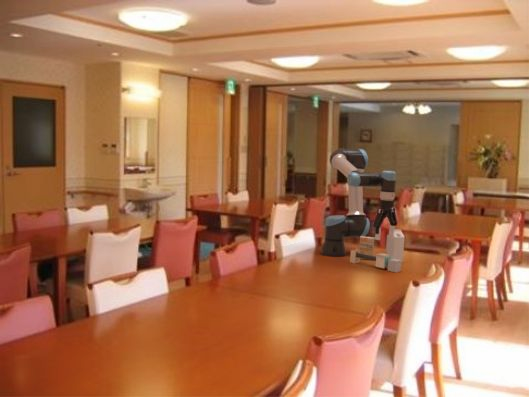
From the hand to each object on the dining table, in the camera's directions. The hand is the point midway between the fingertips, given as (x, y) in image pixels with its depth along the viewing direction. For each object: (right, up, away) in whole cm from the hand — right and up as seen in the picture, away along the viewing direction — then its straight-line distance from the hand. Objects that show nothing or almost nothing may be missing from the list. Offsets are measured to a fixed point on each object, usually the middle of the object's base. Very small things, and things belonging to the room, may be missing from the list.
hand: (384, 238), depth 307 cm
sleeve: (-1, -15, +1) cm, 15 cm away
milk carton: (+10, -15, +22) cm, 28 cm away
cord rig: (-5, -16, +5) cm, 17 cm away
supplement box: (-5, -14, +26) cm, 30 cm away
